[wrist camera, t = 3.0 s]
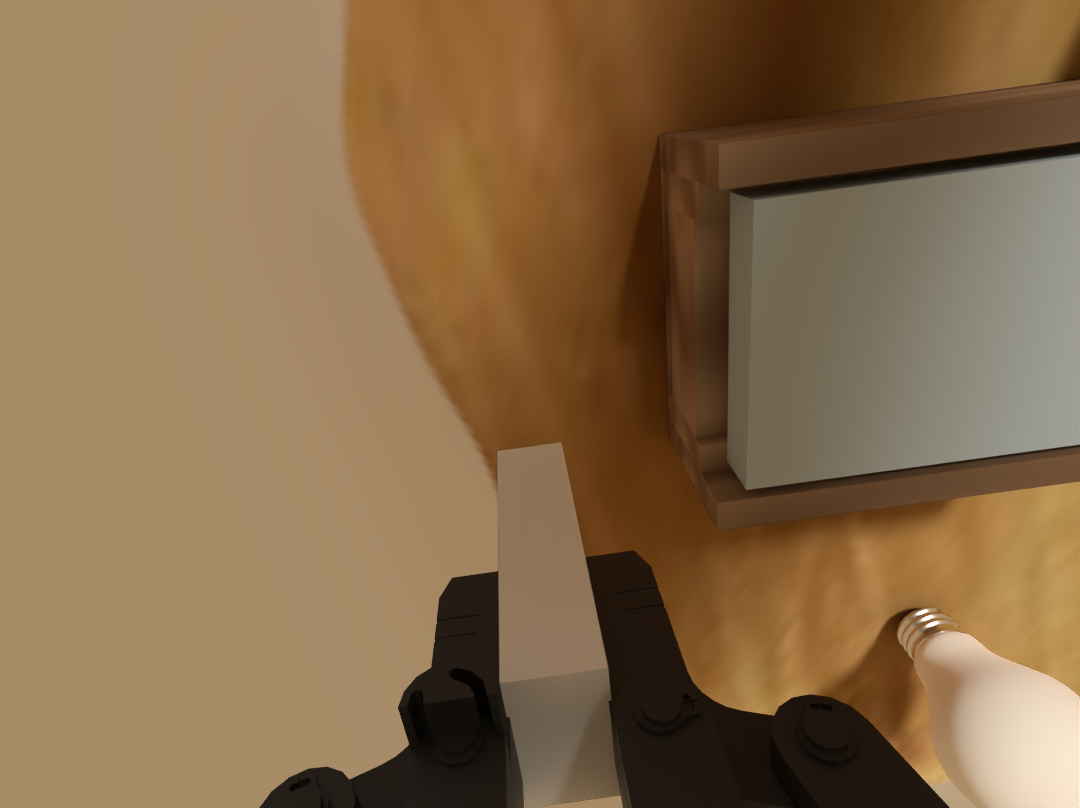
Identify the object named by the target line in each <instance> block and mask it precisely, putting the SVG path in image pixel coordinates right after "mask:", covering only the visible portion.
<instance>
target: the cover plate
mask: <svg viewBox="0 0 1080 808" xmlns="http://www.w3.org/2000/svg"><path fill="white" fill-rule="evenodd" d="M1073 445H1080V145H1076V146H1068V147H1061V148H1053V149H1046V150H1039V151H1031V152H1024V153H1016V154H1009V155H1001V156H994V157H986V158H979V159H971V160H964V161H957V162H949V163H942V164H934V165H927V166H919V167H912V168H904V169H897V170H889V171H882V172H875V173H867V174H860V175H852V176H845V177H837V178H830V179H822V180H815V181H807V182H800V183H793V184H785V185H778V186H770V187H763V188H755V189H748V190H740V191H733V192H730V256H729V345H728V435H727V461H728V463H729V464H730V466H731V468H732V469H733V471H734V472H735V474H736V475H737V477H738V478H739V480H740V481H741V483H742V484H743V486H744V487H745V489H746V490H750V489H757V488H765V487H772V486H779V485H787V484H794V483H801V482H809V481H816V480H823V479H831V478H838V477H845V476H853V475H860V474H867V473H875V472H882V471H889V470H897V469H904V468H911V467H919V466H926V465H933V464H941V463H948V462H955V461H963V460H970V459H977V458H985V457H992V456H999V455H1007V454H1014V453H1021V452H1029V451H1036V450H1043V449H1051V448H1058V447H1065V446H1073Z"/></svg>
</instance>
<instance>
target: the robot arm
mask: <svg viewBox="0 0 1080 808" xmlns="http://www.w3.org/2000/svg"><path fill="white" fill-rule="evenodd" d="M497 469H498V569H499V570H498V571H497V572H490V573H483V574H476V575H469V576H462V577H455V578H452V579H451V581H450V582H449V584H448V585H447V587H446V589H445V590H444V592H443V593H442V595H441V597H440V598H439V606H438V615H437V624H436V632H435V643H434V649H433V659H432V667H431V668H430V669H428V670H427V671H426V672H424V673H422V674H421V675H419V676H418V677H416V678H415V679H414V681H413V682H412V683H411V684H410V685H409V686H408V688H407V689H406V690H405V691H404V694H403V696H402V699H401V701H400V704H399V707H398V709H399V712H400V715H401V719H402V722H403V725H404V729H405V732H406V735H407V738H408V741H409V745H408V747H406V748H405V749H404V750H403V751H402V752H401V753H400V754H398V755H397V756H396V757H394V758H393V759H391V760H389V761H387V762H386V763H384V764H382V765H380V766H378V767H376V768H374V769H371V770H370V771H367V772H365V773H363V774H361V775H358V776H356V777H354V778H352V779H350V780H349V779H348V778H347V777H346V776H345V774H344V773H343V772H341V771H338V770H335V769H332V768H329V767H320V768H311V769H307V770H305V771H303V772H300V773H298V774H296V775H294V776H292V777H289V778H288V779H287V780H286V781H284V782H283V783H282V784H281V785H279V786H278V787H277V788H276V789H274V790H273V791H272V792H271V793H270V795H269V796H268V797H267V799H266V800H265V801H264V803H263V804H262V805H261V806H260V808H524V804H525V808H536V807H543V806H550V805H557V804H564V803H570V802H577V801H584V800H590V799H598V798H605V797H612V796H619V795H621V799H622V804H623V808H949V806H948V805H947V804H946V803H945V802H944V801H943V800H942V799H941V798H940V797H939V796H938V795H937V794H936V793H935V791H933V789H932V788H931V787H930V786H929V785H928V784H927V783H926V782H925V781H924V780H923V779H922V777H921V776H920V775H919V774H918V773H917V772H916V771H915V770H914V769H913V768H912V767H911V766H910V765H909V764H908V762H907V761H906V760H905V759H904V758H903V757H902V756H901V755H900V754H899V753H898V752H897V751H896V750H895V748H894V747H893V746H892V745H891V744H890V743H889V742H888V741H887V740H886V739H885V738H884V737H883V736H882V735H881V733H880V732H879V731H878V730H877V729H876V728H875V727H874V726H873V725H872V724H871V723H870V722H869V721H868V720H867V719H866V718H865V717H864V716H862V715H861V714H860V713H859V712H857V711H856V710H855V709H854V708H852V707H851V706H849V705H847V704H845V703H842V702H840V701H838V700H836V699H833V698H831V697H825V696H818V695H811V694H810V695H804V696H799V697H793V698H791V699H790V700H788V701H787V702H785V703H784V704H782V705H781V706H779V708H778V710H777V712H776V714H775V716H772V715H766V714H759V713H753V712H746V711H741V710H737V709H733V708H729V707H726V706H724V705H722V704H719V703H717V702H715V701H713V700H712V699H710V698H709V697H708V696H706V695H705V694H704V693H702V692H701V691H700V690H699V688H698V687H697V686H696V685H695V684H694V683H693V681H692V679H691V677H690V675H689V673H688V672H687V669H686V666H685V663H684V660H683V657H682V655H681V652H680V649H679V646H678V643H677V640H676V637H675V635H674V632H673V629H672V626H671V623H670V620H669V617H668V615H667V612H666V609H665V608H664V603H663V600H662V597H661V594H660V592H659V591H658V586H657V583H656V580H655V577H654V574H653V572H652V569H651V566H650V565H649V564H648V563H646V562H645V561H644V560H643V559H642V558H641V557H640V556H639V555H638V554H637V553H636V552H635V551H627V552H620V553H613V554H606V555H598V556H591V557H585V554H584V549H583V544H582V539H581V535H580V530H579V525H578V520H577V515H576V511H575V506H574V501H573V496H572V491H571V486H570V482H569V477H568V472H567V467H566V462H565V458H564V453H563V448H562V443H561V442H559V443H552V444H545V445H538V446H530V447H523V448H516V449H509V450H502V451H497Z"/></svg>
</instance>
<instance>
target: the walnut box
mask: <svg viewBox="0 0 1080 808" xmlns="http://www.w3.org/2000/svg"><path fill="white" fill-rule="evenodd" d="M1076 145H1080V79H1072V80H1065V81H1057V82H1050V83H1042V84H1035V85H1027V86H1020V87H1012V88H1005V89H997V90H990V91H982V92H975V93H967V94H960V95H952V96H945V97H938V98H930V99H923V100H915V101H908V102H900V103H893V104H885V105H878V106H870V107H863V108H855V109H848V110H840V111H833V112H825V113H818V114H810V115H803V116H795V117H788V118H780V119H773V120H765V121H758V122H750V123H743V124H736V125H728V126H721V127H713V128H706V129H698V130H691V131H683V132H676V133H668V134H661V135H659V149H660V178H661V207H662V236H663V264H664V293H665V322H666V351H667V380H668V409H669V438H670V440H671V442H672V444H673V446H674V448H675V450H676V452H677V454H678V456H679V458H680V460H681V461H682V463H683V465H684V467H685V469H686V471H687V473H688V475H689V477H690V479H691V481H692V482H693V484H694V486H695V488H696V490H697V492H698V494H699V496H700V498H701V500H702V502H703V503H704V505H705V507H706V509H707V511H708V513H709V515H710V517H711V519H712V521H713V523H714V525H715V526H716V528H717V530H718V531H720V530H727V529H735V528H742V527H749V526H757V525H764V524H771V523H778V522H786V521H793V520H800V519H808V518H815V517H822V516H830V515H837V514H844V513H852V512H859V511H866V510H874V509H881V508H888V507H896V506H903V505H910V504H918V503H925V502H932V501H939V500H947V499H954V498H961V497H969V496H976V495H983V494H991V493H998V492H1005V491H1013V490H1020V489H1027V488H1035V487H1042V486H1049V485H1057V484H1064V483H1071V482H1079V481H1080V445H1073V446H1065V447H1058V448H1051V449H1043V450H1036V451H1029V452H1021V453H1014V454H1007V455H999V456H992V457H985V458H977V459H970V460H963V461H955V462H948V463H941V464H933V465H926V466H919V467H911V468H904V469H897V470H889V471H882V472H875V473H867V474H860V475H853V476H845V477H838V478H831V479H823V480H816V481H809V482H801V483H794V484H787V485H779V486H772V487H765V488H757V489H750V490H746V489H745V487H744V486H743V484H742V483H741V481H740V480H739V478H738V477H737V475H736V474H735V472H734V471H733V469H732V468H731V466H730V464H729V463H728V461H727V435H728V345H729V256H730V192H733V191H740V190H748V189H755V188H763V187H770V186H778V185H785V184H793V183H800V182H807V181H815V180H822V179H830V178H837V177H845V176H852V175H860V174H867V173H875V172H882V171H889V170H897V169H904V168H912V167H919V166H927V165H934V164H942V163H949V162H957V161H964V160H971V159H979V158H986V157H994V156H1001V155H1009V154H1016V153H1024V152H1031V151H1039V150H1046V149H1053V148H1061V147H1068V146H1076Z"/></svg>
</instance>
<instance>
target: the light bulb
mask: <svg viewBox="0 0 1080 808" xmlns="http://www.w3.org/2000/svg"><path fill="white" fill-rule="evenodd" d="M897 639H898V642H899V644H900V645H901V646H902V647H903V649H904V650H905V651H906V652H907V653H908V656H909V657H910V658H911V659H912V660H913V661H914V667H915V669H916V672H917V674H918V676H919V678H920V679H921V681H922V683H923V685H924V686H925V689H926V693H927V696H928V704H929V715H930V731H931V740H932V743H933V746H934V749H935V752H936V755H937V757H938V760H939V762H940V764H941V766H942V767H943V769H944V771H945V773H946V775H947V776H948V777H949V778H950V780H951V781H952V782H953V783H954V785H956V787H957V788H958V789H959V790H960V792H961V793H962V794H963V795H964V796H965V797H967V798H968V799H969V800H970V801H971V802H972V803H973V804H974V805H975V806H976V807H978V808H1080V697H1079V696H1078V695H1077V694H1075V693H1074V692H1073V691H1072V690H1070V689H1069V688H1068V687H1067V686H1065V685H1064V684H1062V683H1060V682H1059V681H1057V680H1055V679H1054V678H1052V677H1050V676H1048V675H1045V674H1043V673H1041V672H1038V671H1035V670H1033V669H1030V668H1028V667H1025V666H1022V665H1019V664H1017V663H1014V662H1011V661H1008V660H1006V659H1004V658H1001V657H999V656H997V655H995V654H994V653H992V652H990V651H989V650H987V649H986V648H985V647H984V646H983V645H982V644H981V643H980V642H979V641H977V640H976V639H975V638H973V637H972V636H970V635H968V634H965V633H964V632H960V628H959V626H958V625H957V624H956V623H955V622H954V620H953V619H952V618H951V617H950V616H949V615H947V614H944V613H943V612H942V611H941V610H939V609H938V608H936V607H926V608H921V609H918V610H915V611H913V612H911V613H910V614H908V615H907V616H905V617H904V618H903V620H902V621H901V622H900V623H899V625H898V629H897Z"/></svg>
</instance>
